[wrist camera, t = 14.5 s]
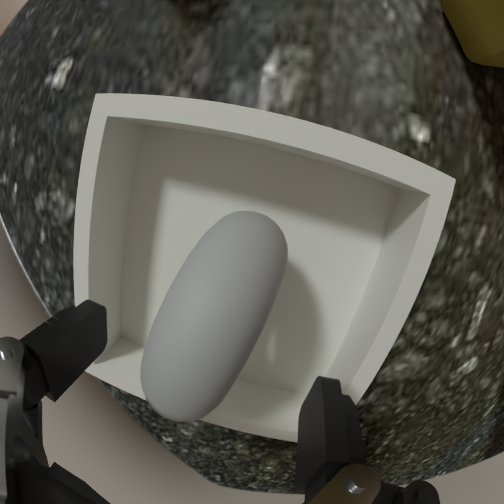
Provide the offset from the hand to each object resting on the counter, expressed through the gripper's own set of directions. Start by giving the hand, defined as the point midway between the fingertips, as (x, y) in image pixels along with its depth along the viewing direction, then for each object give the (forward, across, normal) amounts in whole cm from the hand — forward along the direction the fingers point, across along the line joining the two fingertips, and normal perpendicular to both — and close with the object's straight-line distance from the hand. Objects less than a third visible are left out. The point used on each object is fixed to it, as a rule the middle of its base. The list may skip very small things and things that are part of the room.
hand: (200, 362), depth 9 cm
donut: (+8, 0, 0) cm, 8 cm away
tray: (+9, 0, 0) cm, 9 cm away
